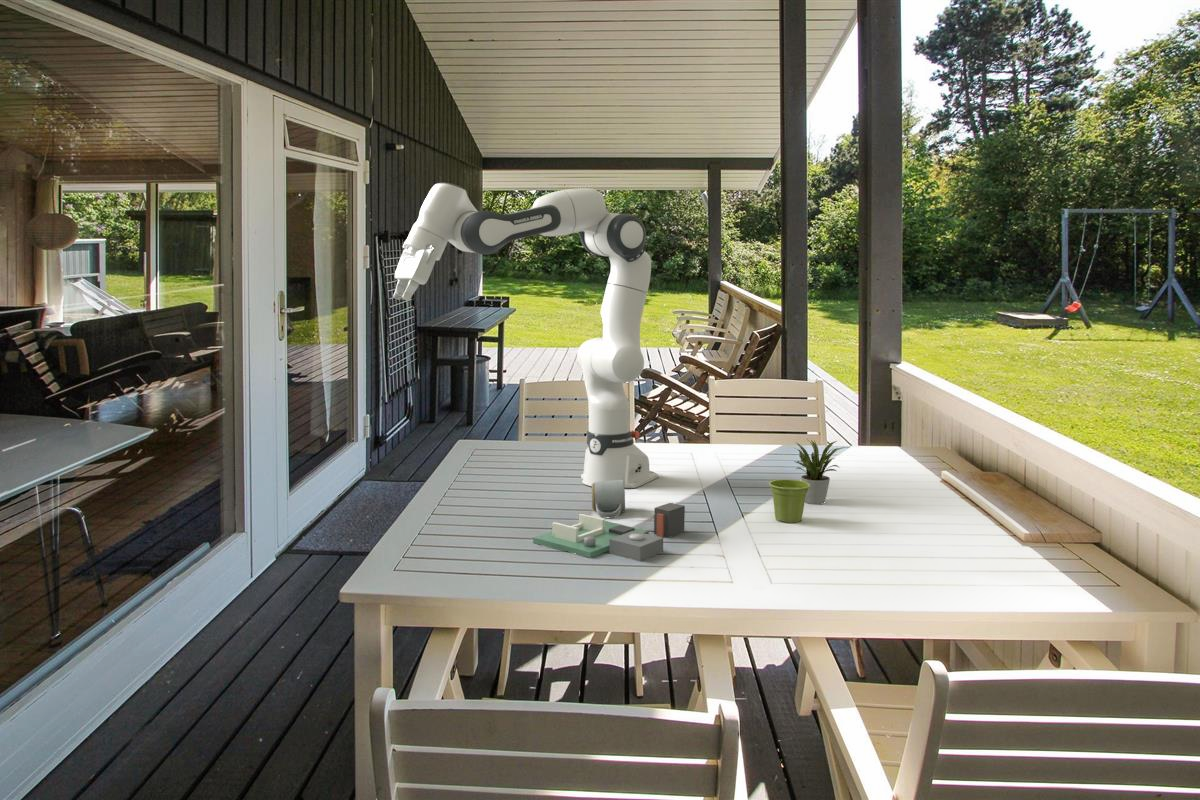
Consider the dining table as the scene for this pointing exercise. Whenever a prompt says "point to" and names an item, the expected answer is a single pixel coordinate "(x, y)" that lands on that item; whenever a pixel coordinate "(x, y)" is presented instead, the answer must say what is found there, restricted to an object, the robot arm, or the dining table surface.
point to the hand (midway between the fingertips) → (400, 299)
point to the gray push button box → (636, 545)
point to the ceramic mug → (608, 497)
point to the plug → (669, 520)
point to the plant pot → (789, 499)
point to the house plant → (816, 472)
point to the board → (584, 535)
